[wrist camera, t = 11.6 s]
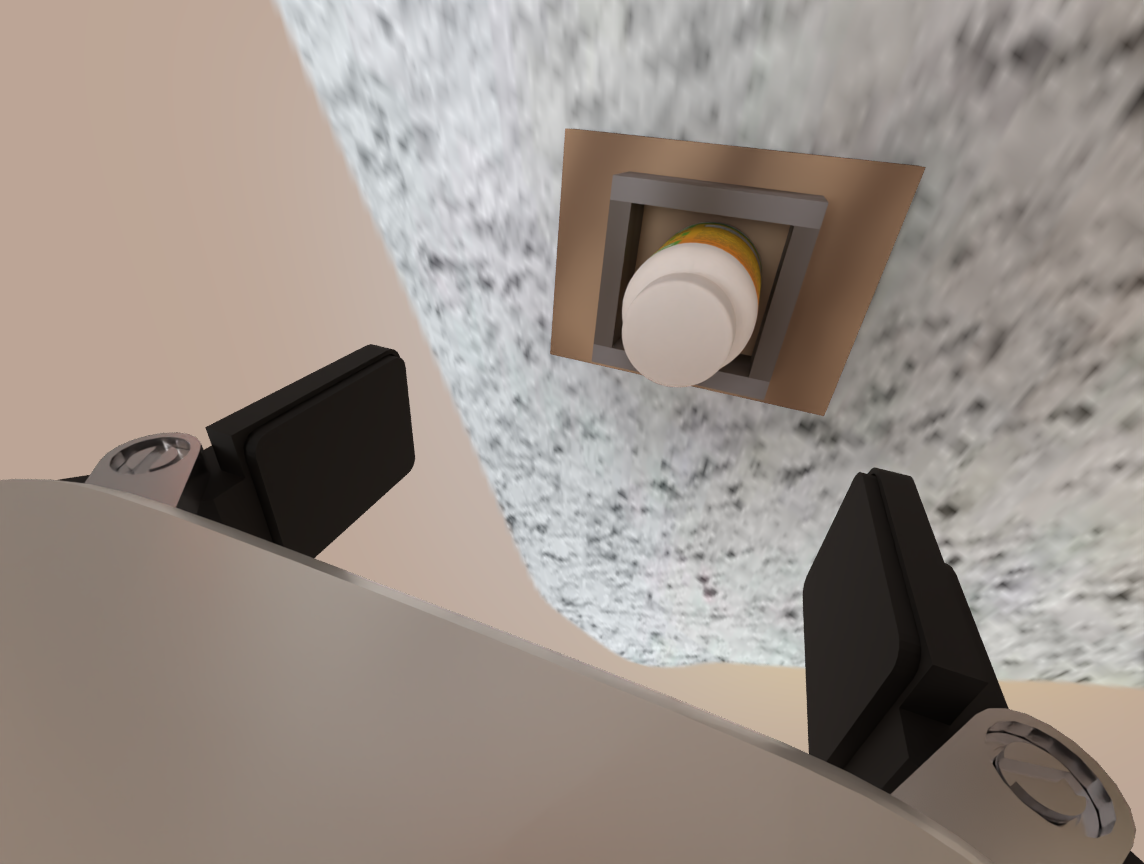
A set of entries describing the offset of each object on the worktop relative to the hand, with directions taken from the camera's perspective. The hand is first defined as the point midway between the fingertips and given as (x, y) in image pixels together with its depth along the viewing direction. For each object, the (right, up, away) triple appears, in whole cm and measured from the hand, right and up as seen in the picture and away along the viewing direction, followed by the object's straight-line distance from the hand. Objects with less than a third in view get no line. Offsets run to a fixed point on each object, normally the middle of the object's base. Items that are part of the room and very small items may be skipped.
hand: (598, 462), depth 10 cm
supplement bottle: (+6, +9, +16) cm, 19 cm away
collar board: (+7, +9, +17) cm, 20 cm away
